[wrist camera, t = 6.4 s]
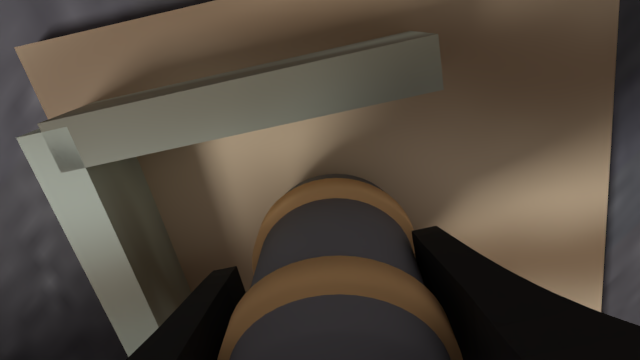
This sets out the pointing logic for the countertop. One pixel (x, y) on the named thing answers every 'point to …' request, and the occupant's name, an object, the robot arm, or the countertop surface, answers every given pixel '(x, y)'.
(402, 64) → the shelf
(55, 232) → the countertop surface
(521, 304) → the robot arm
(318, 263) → the banded gray cylinder
